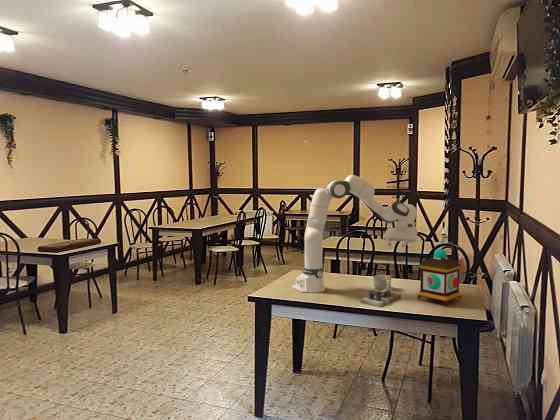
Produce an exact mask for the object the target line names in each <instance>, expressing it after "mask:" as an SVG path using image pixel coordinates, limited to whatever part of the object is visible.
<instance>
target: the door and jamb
mask: <svg viewBox="0 0 560 420" xmlns="http://www.w3.org/2000/svg"><path fill="white" fill-rule="evenodd" d="M381 290H383V289H379V290H374V289H372V290H369V291H368V296H366V297H362V298H360V301H359V303H360V304H364V305H369V306H373V307H377V308H381V307H383V306H386V305H388V304H390V303H392V302H395V301H397V300H400V299H401V298H402V294H399V293H395V292H391V293H390V290H388V291H386V295H381V292H380V291H381Z"/></svg>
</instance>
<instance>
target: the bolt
mask: <svg viewBox="0 0 560 420" xmlns="http://www.w3.org/2000/svg"><path fill="white" fill-rule="evenodd" d="M386 275H387V276H386V289H384V290H381V291H380V292H381V295H386V291H388V290H390V293H393V288H392V287H391V285H392V276H391V275H390V274H386Z"/></svg>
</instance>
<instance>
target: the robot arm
mask: <svg viewBox="0 0 560 420" xmlns="http://www.w3.org/2000/svg"><path fill="white" fill-rule="evenodd" d="M349 193H350V194H352V195H353V196H355V197H357V198H359V199H360V200H361V201H362V203H363V204H364V206H366V207H367V208H368V209H370V211H372V212H374V213H375V214H376V215H377V216H379V217H380V219H381V220H382V221H383V222H384V223H387V224H392V223H394V222H396V220H397V223H396V225H395V226H394V227H393V226H390V227H388V228H386V230H385V232H384V234H383V238H384V240H385V241H387V244H386V245H387V246H388V247H391V245H392V243H391V242H403V243H402V244H401V247H402V248H405V247H406V246H407V245H408V244H409V243H415V242H416V241H417V238H418V233H419V230H418V228H417V227H416V225H415V224H413V223H415V220H416V218H417V214H418V210H417V207H416V206H415V205H413V204H406V203H403V202H401V201H398V200H397V201H394V202H391V204H389V205H388V206H383V205H382V204H380V202H378V201H377V200H375V198H374V195H375V187H374V185H373V184H372V183H370V182H369V181H367V180H366V179H364V178H362V177H360V176H357V175H354V174H349V175H348V176H346V178H345V179H344V180H340V179H333V180H331V181H330V182H328V183H327V185H326V186H325V187H323V188H322V187H321V188H320V187H319V188H317V189H316V190H315V191H314V193H313V195H312V199H311V203H310V207H309V212H308V217H307V222H306V225H305V226H306V227H305V232H304V267H302V268H301V270H302V272H301V273H300V274H299V276H297V277H296V278H295V284H292V285H291V288H293V289H294V290H297V291H298V292H301V293H322V292H325V291H326V286H325V280H324V268H323V251H324V250H323V249H324V248H323V246H324V244H323V243H324V237H323V235H324V230H325V224H326V221H327V216H328V212H329V207H330V203H331V200H332V199H342V198H344V197H346V196H347V195H348V194H349Z"/></svg>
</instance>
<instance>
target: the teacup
mask: <svg viewBox="0 0 560 420" xmlns="http://www.w3.org/2000/svg"><path fill="white" fill-rule="evenodd" d="M387 275H388V274H378V275H373V276H372V280H373V283H372V284H373V287H374V288H375V289H376V291H379V289H383V290H384V289H386V276H387Z"/></svg>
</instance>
